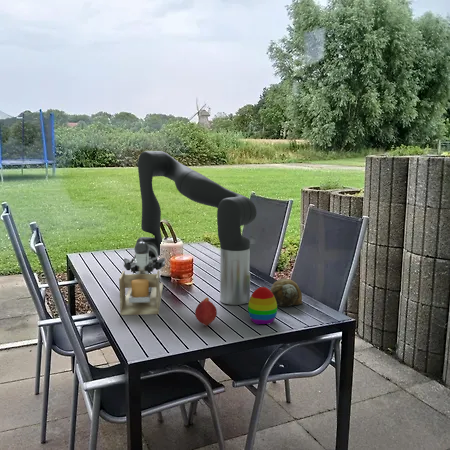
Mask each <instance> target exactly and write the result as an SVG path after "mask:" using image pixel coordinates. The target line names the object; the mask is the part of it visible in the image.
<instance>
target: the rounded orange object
mask: <svg viewBox="0 0 450 450" xmlns="http://www.w3.org/2000/svg"><path fill="white" fill-rule="evenodd" d="M131 285H132V296H135V297H144V296H147V295H149V281H148V280H147V279H135V280H132V281H131Z"/></svg>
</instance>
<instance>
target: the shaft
mask: <svg viewBox="0 0 450 450" xmlns="http://www.w3.org/2000/svg"><path fill="white" fill-rule="evenodd" d="M133 250H134V253H135V254H136V273H135V274H150V273H148V265H149V245H148V244H147V243H146V242H138V243H137V244H136V243H135V245H134V249H133ZM135 254H134V255H135ZM152 291H153V287H149V295H147V296H144V297H135V296H132V291H131V293H130V296H129V303H134V302H150V299H151V295H152Z"/></svg>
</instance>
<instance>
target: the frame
mask: <svg viewBox="0 0 450 450" xmlns="http://www.w3.org/2000/svg"><path fill="white" fill-rule="evenodd" d="M125 272H126V271H125V270H123V271H122V272H121V274H120V276H119V278H118V281H119V282H118V283H119V309H120V311H119V313H120V316H130V315H131V316H133V315H135V316H137V315H142V316H143V315H159V313H160V308H161V302H162V301H161V300H162V296H163V290H164V289H163V288H164V282H160V278H161V277H160V270H157V272H156V273H149V274H136V273H129V274H128V273H125ZM135 279H147V280H148V281H149V287H153V291H152V295H151V299H150V302H134V303H129V296H130V293H131V291H132V285H131V281H132V280H135ZM126 289H128V290H127V293H126Z"/></svg>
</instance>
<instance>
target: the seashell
mask: <svg viewBox="0 0 450 450" xmlns="http://www.w3.org/2000/svg"><path fill="white" fill-rule="evenodd" d="M270 287H271V288H270V289H269V290H270V291H271V292H272V293H273V295H274V297H275V299H276V302H277V306H280V307H282V308H287V307H291V306H298V305H302V304H303V294H302V290H301V288H300V287H299V285H298V283H296V282H295V281H294V280H292V279H290V278H287V277H285V278H284V277H283V278H280V279H278V280H275V281H274V282H273V284H272V285H271V286H270Z"/></svg>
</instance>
